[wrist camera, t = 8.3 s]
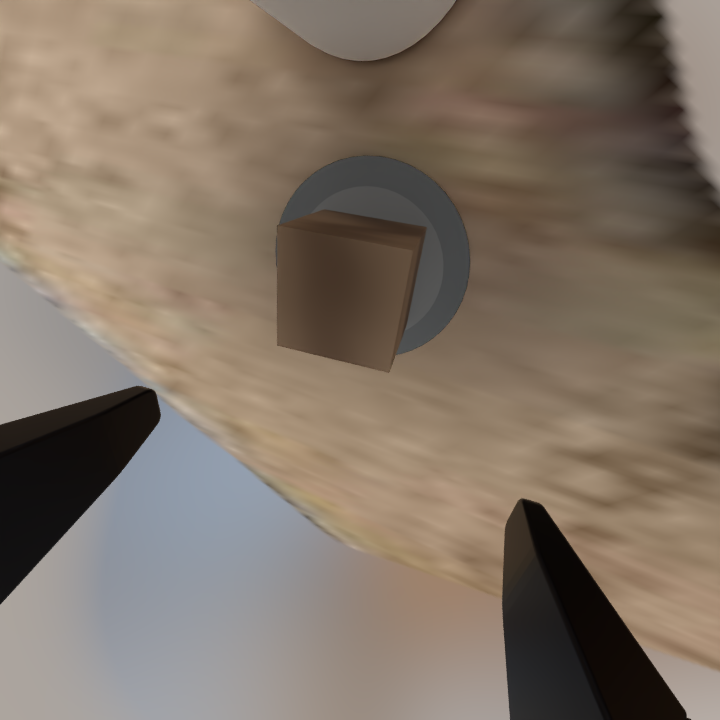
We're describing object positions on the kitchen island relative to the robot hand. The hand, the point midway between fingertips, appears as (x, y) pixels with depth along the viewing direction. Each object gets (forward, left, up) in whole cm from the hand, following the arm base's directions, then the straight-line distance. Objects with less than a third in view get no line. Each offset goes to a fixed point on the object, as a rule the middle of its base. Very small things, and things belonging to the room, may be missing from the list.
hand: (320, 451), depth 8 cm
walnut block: (+2, -1, -12) cm, 12 cm away
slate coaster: (+2, -1, -12) cm, 12 cm away
